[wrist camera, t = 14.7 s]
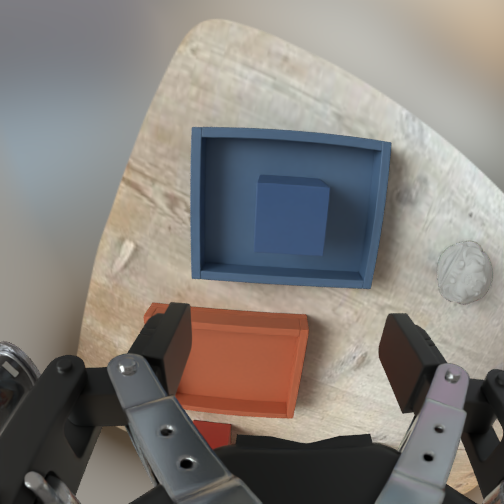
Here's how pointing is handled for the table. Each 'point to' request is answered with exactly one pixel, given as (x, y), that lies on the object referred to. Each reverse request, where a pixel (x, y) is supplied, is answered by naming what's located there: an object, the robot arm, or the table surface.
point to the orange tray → (242, 362)
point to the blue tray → (295, 165)
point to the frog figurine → (464, 272)
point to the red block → (214, 433)
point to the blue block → (291, 215)
